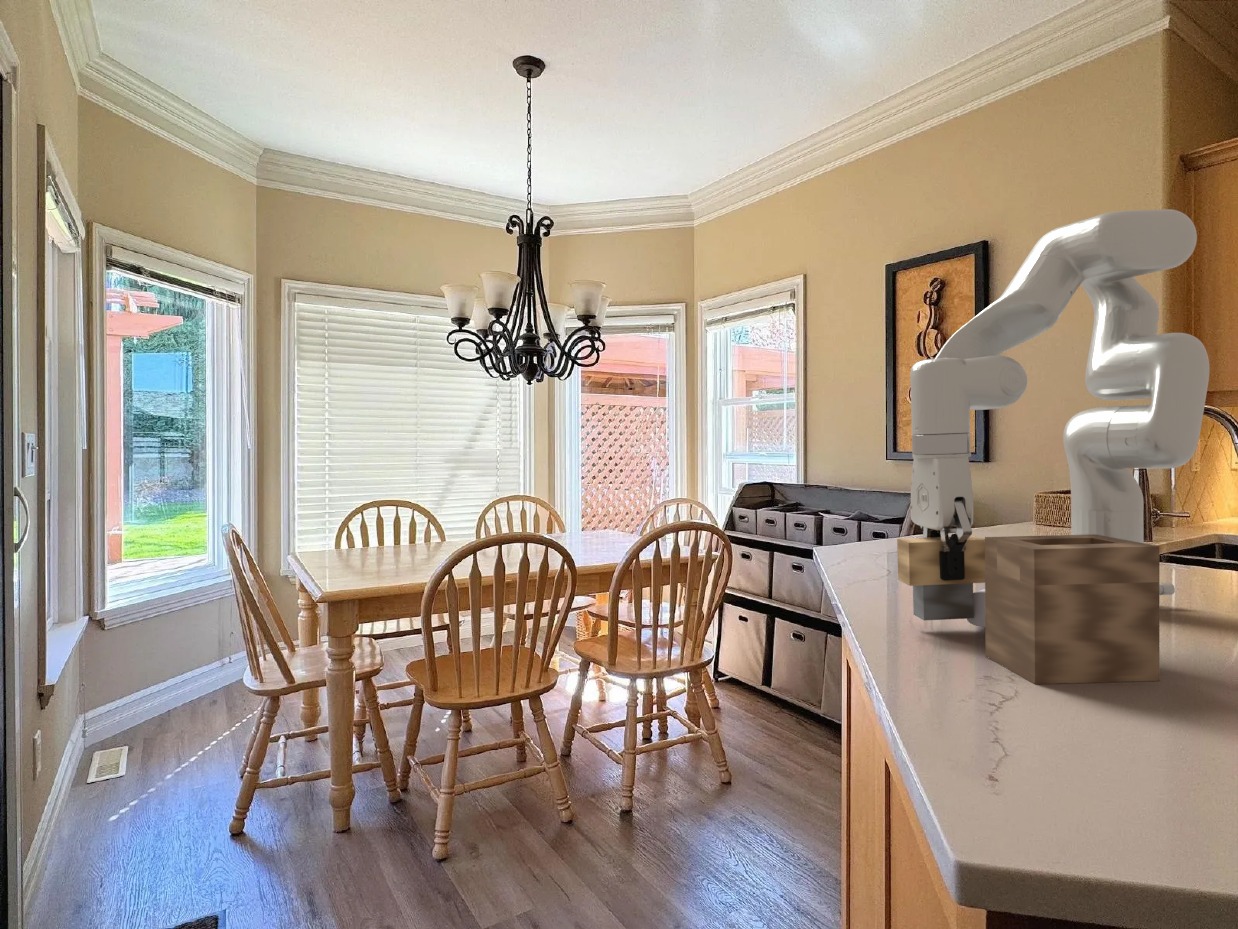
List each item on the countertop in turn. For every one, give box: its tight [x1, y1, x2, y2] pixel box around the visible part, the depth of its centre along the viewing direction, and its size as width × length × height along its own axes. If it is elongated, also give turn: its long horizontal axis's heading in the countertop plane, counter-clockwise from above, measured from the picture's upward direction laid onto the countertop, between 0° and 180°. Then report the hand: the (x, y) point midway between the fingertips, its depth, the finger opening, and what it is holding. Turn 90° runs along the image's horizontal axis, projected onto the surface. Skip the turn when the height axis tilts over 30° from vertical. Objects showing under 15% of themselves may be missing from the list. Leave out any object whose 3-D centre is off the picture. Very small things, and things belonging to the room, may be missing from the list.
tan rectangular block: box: [896, 535, 985, 621], centre depth 102 cm, size 11×4×11 cm, turn 91°
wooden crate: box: [984, 534, 1160, 685], centre depth 85 cm, size 14×10×15 cm
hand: (944, 575), depth 102 cm, fingers closed on tan rectangular block, 4 cm apart
